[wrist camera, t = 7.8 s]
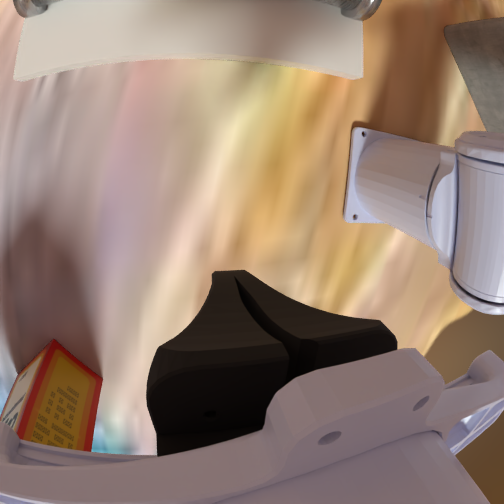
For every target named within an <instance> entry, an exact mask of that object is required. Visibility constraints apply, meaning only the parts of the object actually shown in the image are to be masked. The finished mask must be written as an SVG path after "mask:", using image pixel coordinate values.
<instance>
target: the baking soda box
mask: <svg viewBox="0 0 504 504" xmlns="http://www.w3.org/2000/svg"><path fill="white" fill-rule="evenodd" d="M102 382H103V379H102V378H101V377H100V376H98V375H97V374H96V373H94V372H93V371H92V370H90V369H89V368H88V367H87V366H85V365H84V364H83V363H82V362H80V361H79V360H78V359H77V358H76V357H74V356H73V355H72V354H71V353H70V352H68V351H67V350H66V349H65V348H64V347H63V346H61V345H60V344H59V343H58V342H57V341H56V340H55V339H53V340H52V341H51V342H50V343H49V344H48V345H47V346H46V347H45V348H44V349H43V350H42V351H41V352H40V353H39V354H38V355H37V356H36V357H35V358H34V359H33V360H32V361H31V362H30V363H29V364H28V365H27V366H26V367H25V368H24V369H23V370H22V371H21V372H20V373H19V374H18V375H17V378H16V380H15V382H14V384H13V387H12V389H11V391H10V393H9V396H8V398H7V401H6V403H5V406H4V408H3V411H2V413H1V416H0V421H2V422H4V423H6V424H7V425H9V426H10V427H11V428H12V429H13V430H14V431H15V432H16V434H17V435H18V437H19V438H20V439H21V440H25V441H29V442H34V443H38V444H43V445H48V446H54V447H59V448H65V449H72V450H79V451H87V452H91V449H92V441H93V434H94V427H95V420H96V414H97V408H98V403H99V397H100V392H101V387H102Z"/></svg>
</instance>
